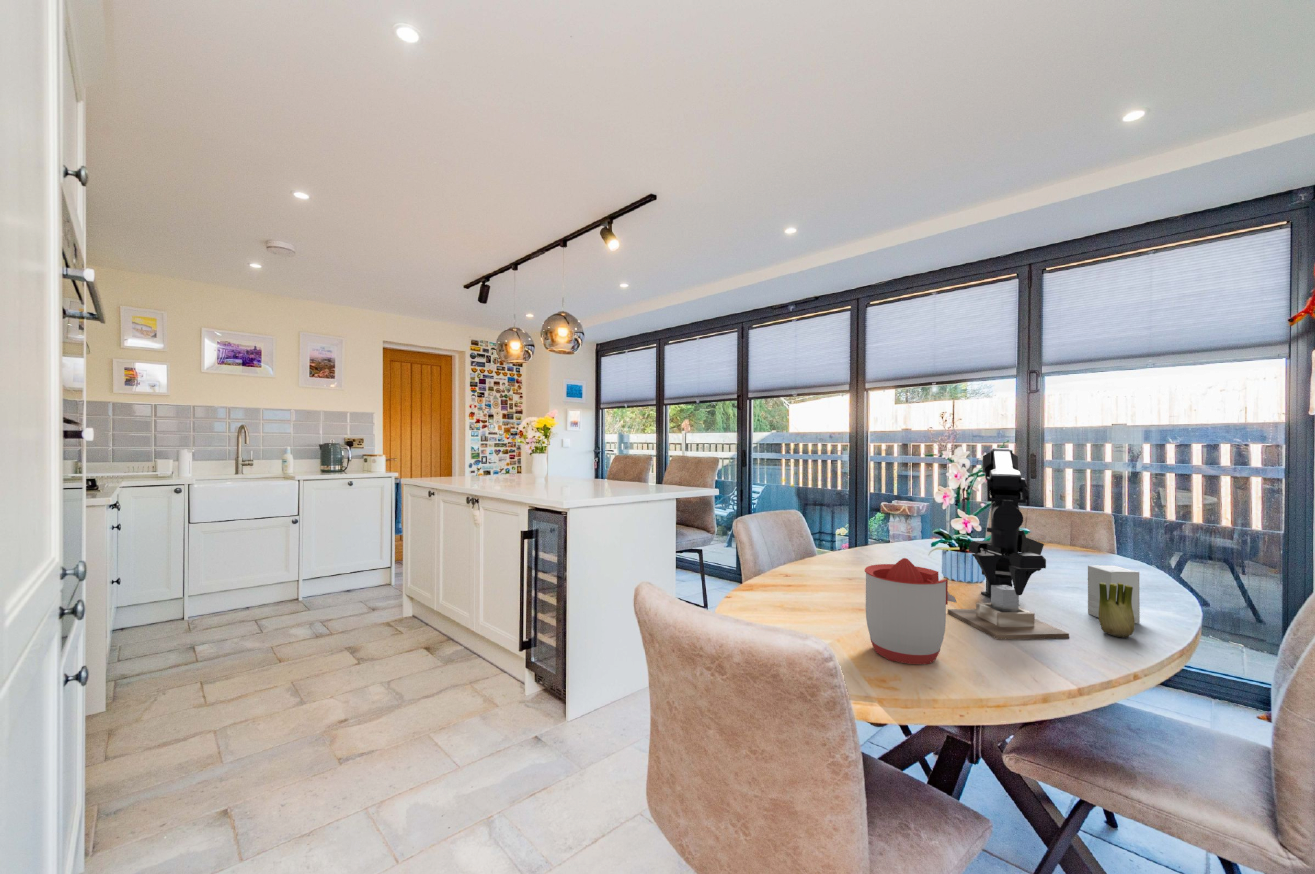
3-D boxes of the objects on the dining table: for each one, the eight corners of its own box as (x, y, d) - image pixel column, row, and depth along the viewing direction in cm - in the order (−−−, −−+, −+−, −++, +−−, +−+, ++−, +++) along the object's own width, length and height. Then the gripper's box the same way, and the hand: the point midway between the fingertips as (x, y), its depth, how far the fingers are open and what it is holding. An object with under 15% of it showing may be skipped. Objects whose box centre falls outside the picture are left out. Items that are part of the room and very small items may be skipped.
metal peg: (990, 617, 130) (991, 585, 130) (1006, 617, 131) (1006, 584, 131) (1002, 623, 126) (1002, 589, 126) (1018, 623, 127) (1018, 589, 127)
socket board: (947, 613, 137) (947, 597, 137) (1010, 611, 138) (1010, 596, 138) (997, 639, 119) (997, 621, 119) (1069, 637, 120) (1069, 620, 120)
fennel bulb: (1096, 633, 123) (1097, 581, 123) (1105, 629, 126) (1105, 578, 126) (1129, 641, 118) (1129, 587, 118) (1136, 637, 121) (1137, 584, 121)
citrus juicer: (969, 675, 101) (969, 569, 101) (871, 666, 104) (872, 564, 104) (942, 644, 116) (942, 552, 116) (858, 637, 120) (858, 548, 120)
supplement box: (1141, 623, 130) (1141, 572, 130) (1110, 623, 130) (1110, 571, 130) (1115, 613, 137) (1115, 564, 137) (1086, 613, 138) (1086, 564, 138)
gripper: (1069, 531, 120) (1068, 600, 120) (1008, 518, 138) (1008, 579, 138) (1022, 531, 119) (1021, 601, 119) (967, 519, 138) (967, 579, 138)
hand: (1004, 589), depth 128 cm, fingers open, 9 cm apart
